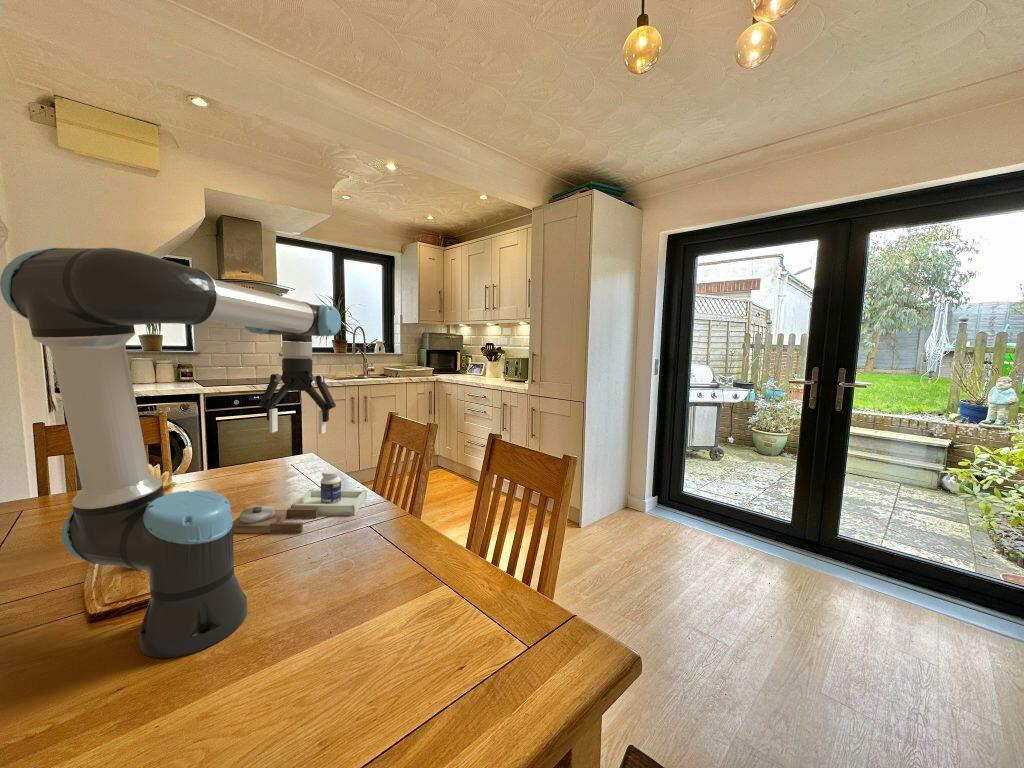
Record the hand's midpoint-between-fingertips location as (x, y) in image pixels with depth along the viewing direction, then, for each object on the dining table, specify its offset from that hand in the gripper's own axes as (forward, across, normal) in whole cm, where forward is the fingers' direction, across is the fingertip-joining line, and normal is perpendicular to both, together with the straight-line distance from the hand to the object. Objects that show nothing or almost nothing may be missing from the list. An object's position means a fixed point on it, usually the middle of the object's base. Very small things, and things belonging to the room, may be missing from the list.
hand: (298, 432), depth 115 cm
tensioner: (+25, +4, +5) cm, 26 cm away
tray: (+24, -6, -7) cm, 26 cm away
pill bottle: (+23, -6, -7) cm, 25 cm away
